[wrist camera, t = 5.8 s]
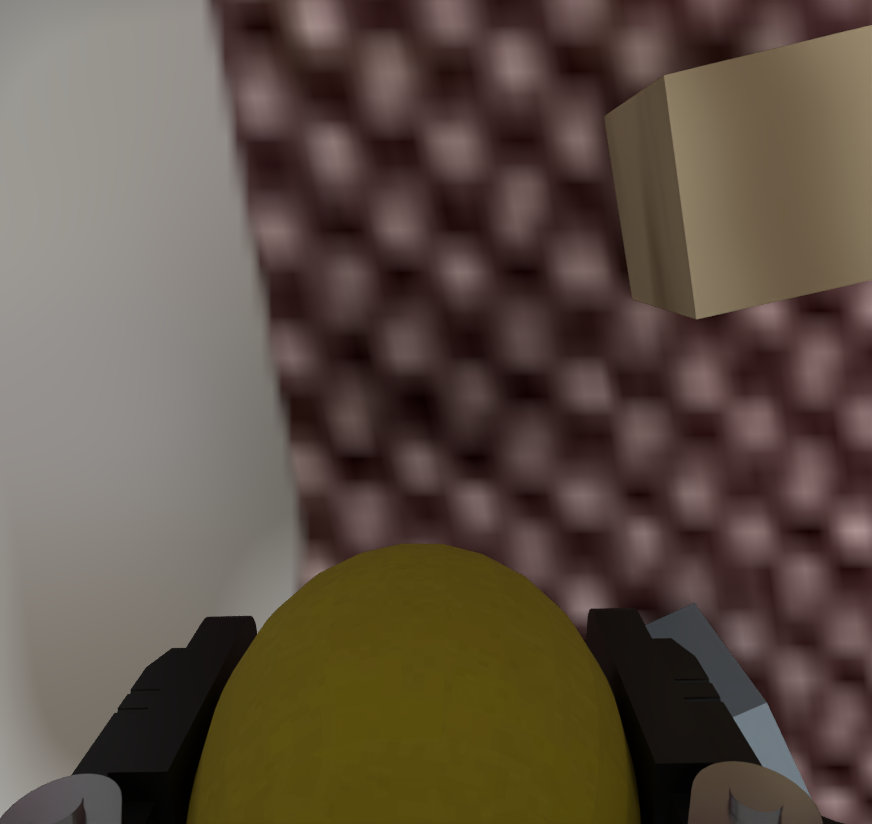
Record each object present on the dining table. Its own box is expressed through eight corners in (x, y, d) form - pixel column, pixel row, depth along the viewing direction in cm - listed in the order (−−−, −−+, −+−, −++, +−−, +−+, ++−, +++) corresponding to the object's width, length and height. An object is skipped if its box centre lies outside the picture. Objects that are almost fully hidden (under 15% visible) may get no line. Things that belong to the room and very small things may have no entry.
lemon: (276, 728, 14) (59, 1365, 6) (282, 462, 12) (12, 835, 5) (554, 747, 14) (699, 1405, 6) (590, 485, 12) (835, 891, 5)
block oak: (787, 72, 18) (915, 14, 14) (804, 259, 20) (928, 266, 15) (602, 117, 19) (664, 75, 14) (631, 299, 20) (696, 319, 15)
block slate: (693, 601, 22) (766, 702, 17) (749, 719, 23) (833, 845, 19) (553, 665, 23) (586, 781, 18) (614, 777, 24) (661, 915, 19)
